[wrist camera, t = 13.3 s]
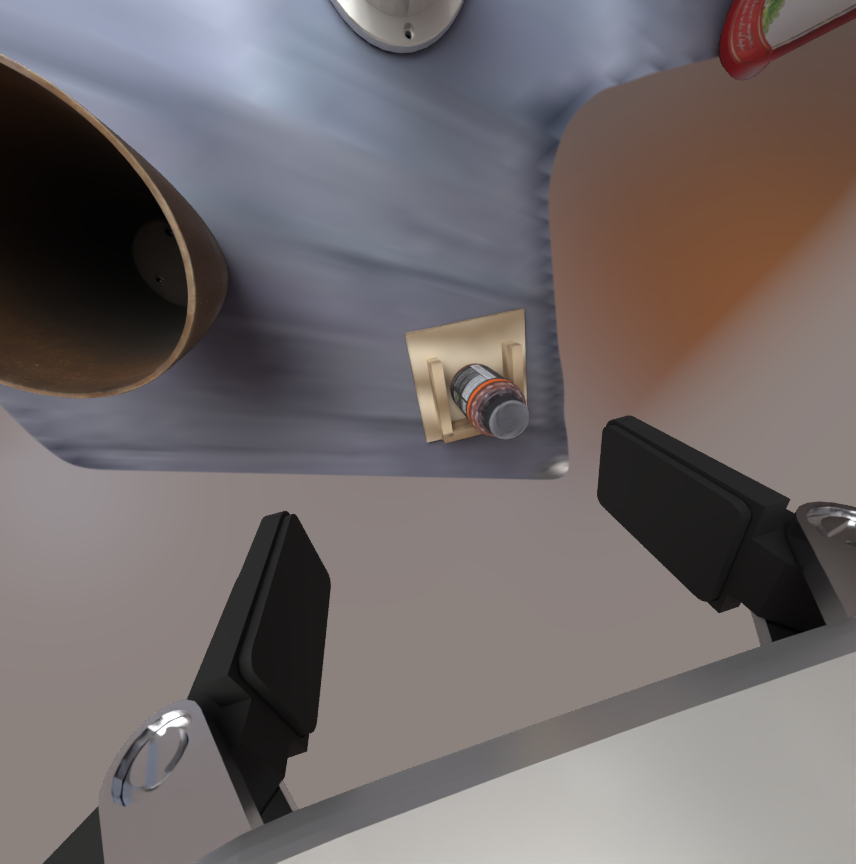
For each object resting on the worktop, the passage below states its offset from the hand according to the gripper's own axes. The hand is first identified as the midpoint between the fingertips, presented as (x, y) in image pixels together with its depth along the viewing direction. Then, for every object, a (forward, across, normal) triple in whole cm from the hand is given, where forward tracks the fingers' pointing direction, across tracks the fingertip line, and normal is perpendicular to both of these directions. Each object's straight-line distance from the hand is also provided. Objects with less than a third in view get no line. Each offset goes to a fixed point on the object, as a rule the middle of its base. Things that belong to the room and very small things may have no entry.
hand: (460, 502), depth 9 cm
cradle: (+29, -9, +7) cm, 31 cm away
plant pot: (+30, +17, -10) cm, 36 cm away
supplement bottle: (+28, -8, +8) cm, 31 cm away
